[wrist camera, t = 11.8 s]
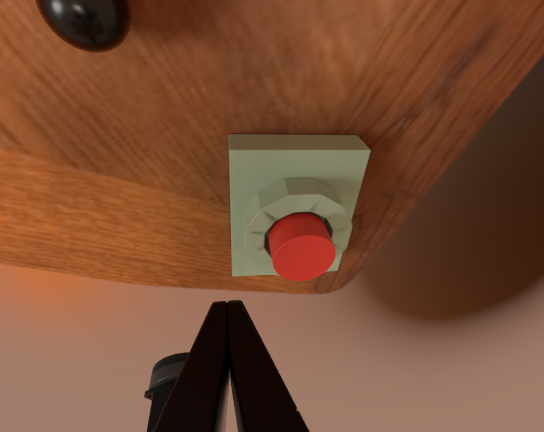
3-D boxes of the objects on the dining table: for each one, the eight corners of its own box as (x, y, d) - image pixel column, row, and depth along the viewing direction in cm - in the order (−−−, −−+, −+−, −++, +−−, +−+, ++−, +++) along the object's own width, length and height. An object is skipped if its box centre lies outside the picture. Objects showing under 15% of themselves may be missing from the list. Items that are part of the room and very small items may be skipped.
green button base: (329, 250, 25) (344, 289, 22) (231, 255, 24) (233, 297, 21) (357, 134, 19) (384, 165, 16) (228, 133, 18) (229, 166, 15)
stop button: (321, 255, 20) (329, 279, 18) (266, 258, 19) (270, 283, 18) (330, 211, 18) (341, 234, 16) (269, 212, 17) (274, 236, 16)
